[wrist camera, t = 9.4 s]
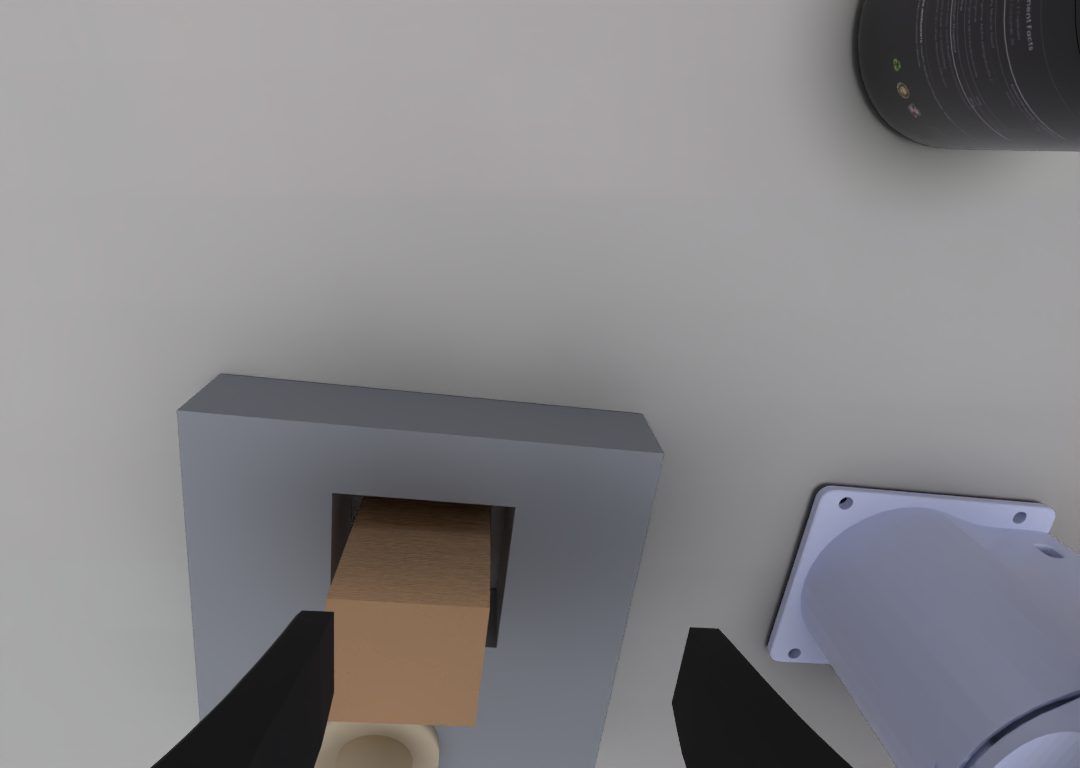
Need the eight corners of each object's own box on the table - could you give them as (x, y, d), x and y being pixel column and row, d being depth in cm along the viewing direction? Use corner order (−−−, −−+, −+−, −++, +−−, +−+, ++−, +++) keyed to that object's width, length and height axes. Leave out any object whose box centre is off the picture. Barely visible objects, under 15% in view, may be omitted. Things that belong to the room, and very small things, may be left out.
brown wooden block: (490, 472, 22) (489, 607, 16) (480, 566, 24) (475, 726, 17) (376, 462, 22) (325, 598, 15) (371, 559, 23) (324, 721, 17)
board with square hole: (642, 414, 22) (705, 528, 15) (573, 750, 27) (598, 940, 21) (220, 373, 20) (91, 482, 14) (237, 739, 26) (150, 940, 19)
